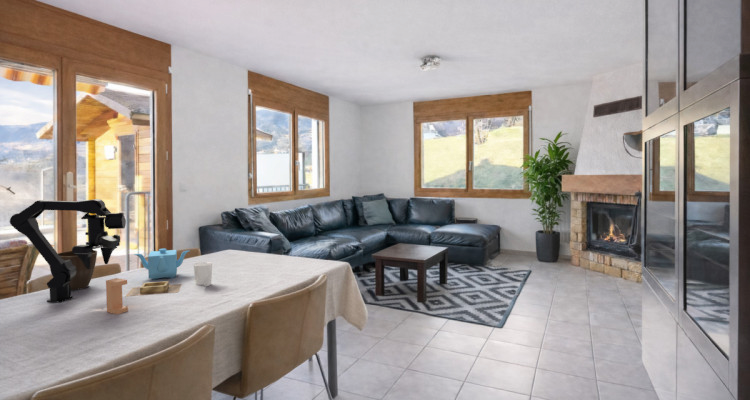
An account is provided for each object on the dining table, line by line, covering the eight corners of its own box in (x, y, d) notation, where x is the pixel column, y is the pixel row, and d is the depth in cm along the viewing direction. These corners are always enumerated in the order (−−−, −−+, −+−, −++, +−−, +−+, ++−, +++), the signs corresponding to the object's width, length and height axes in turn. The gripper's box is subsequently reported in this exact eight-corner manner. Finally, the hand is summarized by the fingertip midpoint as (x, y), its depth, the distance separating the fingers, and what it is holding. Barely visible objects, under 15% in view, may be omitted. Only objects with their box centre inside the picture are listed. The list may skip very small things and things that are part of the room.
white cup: (190, 285, 188) (190, 264, 187) (204, 282, 195) (204, 261, 194) (202, 288, 184) (201, 266, 184) (216, 284, 191) (215, 263, 190)
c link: (107, 312, 152) (105, 280, 151) (117, 308, 155) (116, 278, 155) (117, 314, 149) (116, 282, 149) (128, 310, 153) (127, 279, 152)
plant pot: (106, 283, 190) (105, 250, 189) (80, 293, 175) (78, 256, 174) (77, 282, 192) (75, 249, 191) (48, 291, 177) (47, 255, 176)
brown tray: (124, 298, 168) (124, 290, 167) (132, 289, 181) (132, 282, 181) (178, 294, 174) (178, 286, 174) (181, 286, 187) (181, 278, 187)
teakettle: (164, 272, 213) (163, 244, 212) (192, 275, 207) (192, 246, 206) (132, 281, 196) (131, 251, 195) (162, 284, 189) (161, 253, 188)
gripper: (95, 233, 158) (96, 272, 159) (130, 227, 176) (131, 262, 177) (70, 232, 159) (71, 271, 160) (107, 226, 178) (108, 261, 179)
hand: (97, 266), depth 169 cm, fingers open, 9 cm apart
